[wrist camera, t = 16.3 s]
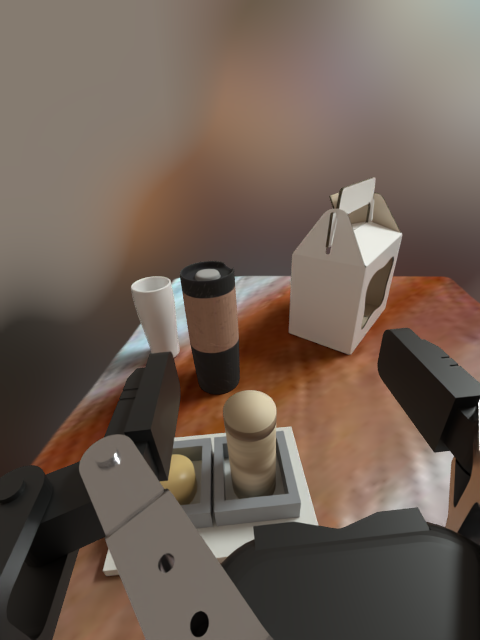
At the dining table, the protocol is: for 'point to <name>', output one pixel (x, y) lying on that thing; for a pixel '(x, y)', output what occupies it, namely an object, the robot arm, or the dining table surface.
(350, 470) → the dining table surface
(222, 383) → the travel mug
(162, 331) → the white cylinder
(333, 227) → the gable box
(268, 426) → the lidded cup
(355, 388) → the dining table surface
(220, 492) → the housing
